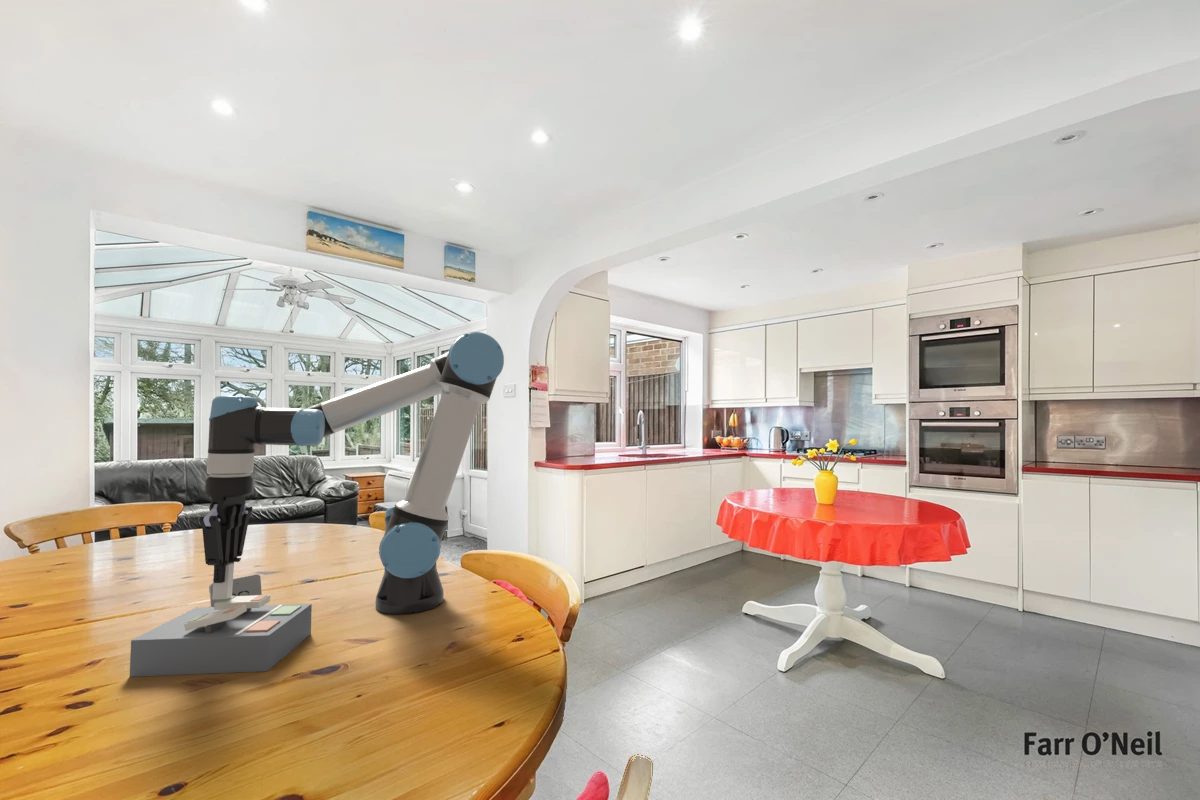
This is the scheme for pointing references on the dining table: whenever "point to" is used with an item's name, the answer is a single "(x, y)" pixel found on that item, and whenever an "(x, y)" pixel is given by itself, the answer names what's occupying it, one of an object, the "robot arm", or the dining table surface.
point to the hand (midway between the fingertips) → (222, 598)
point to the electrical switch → (242, 587)
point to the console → (221, 642)
